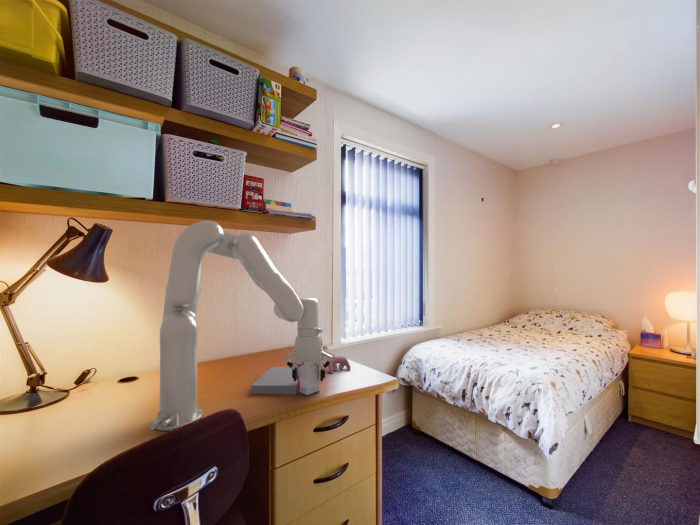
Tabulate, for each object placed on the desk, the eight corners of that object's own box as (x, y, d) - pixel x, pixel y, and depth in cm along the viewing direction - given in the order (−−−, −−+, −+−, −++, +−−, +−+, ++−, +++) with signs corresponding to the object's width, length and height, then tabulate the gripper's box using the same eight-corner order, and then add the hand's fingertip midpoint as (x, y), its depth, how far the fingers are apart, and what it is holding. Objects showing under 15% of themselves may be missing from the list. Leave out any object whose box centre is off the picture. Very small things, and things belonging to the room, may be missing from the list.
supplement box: (320, 391, 109) (319, 359, 109) (307, 397, 104) (307, 363, 105) (309, 388, 113) (309, 356, 113) (296, 392, 108) (296, 360, 109)
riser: (296, 394, 107) (296, 385, 107) (251, 394, 108) (251, 385, 108) (308, 374, 129) (308, 366, 129) (271, 374, 130) (271, 366, 130)
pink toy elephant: (348, 371, 136) (344, 356, 139) (352, 369, 132) (348, 353, 136) (327, 375, 132) (324, 358, 135) (331, 373, 128) (328, 356, 131)
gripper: (332, 330, 113) (333, 376, 112) (287, 330, 114) (287, 376, 113) (330, 333, 105) (331, 383, 104) (281, 334, 106) (282, 384, 105)
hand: (308, 380), depth 109 cm, fingers open, 9 cm apart
